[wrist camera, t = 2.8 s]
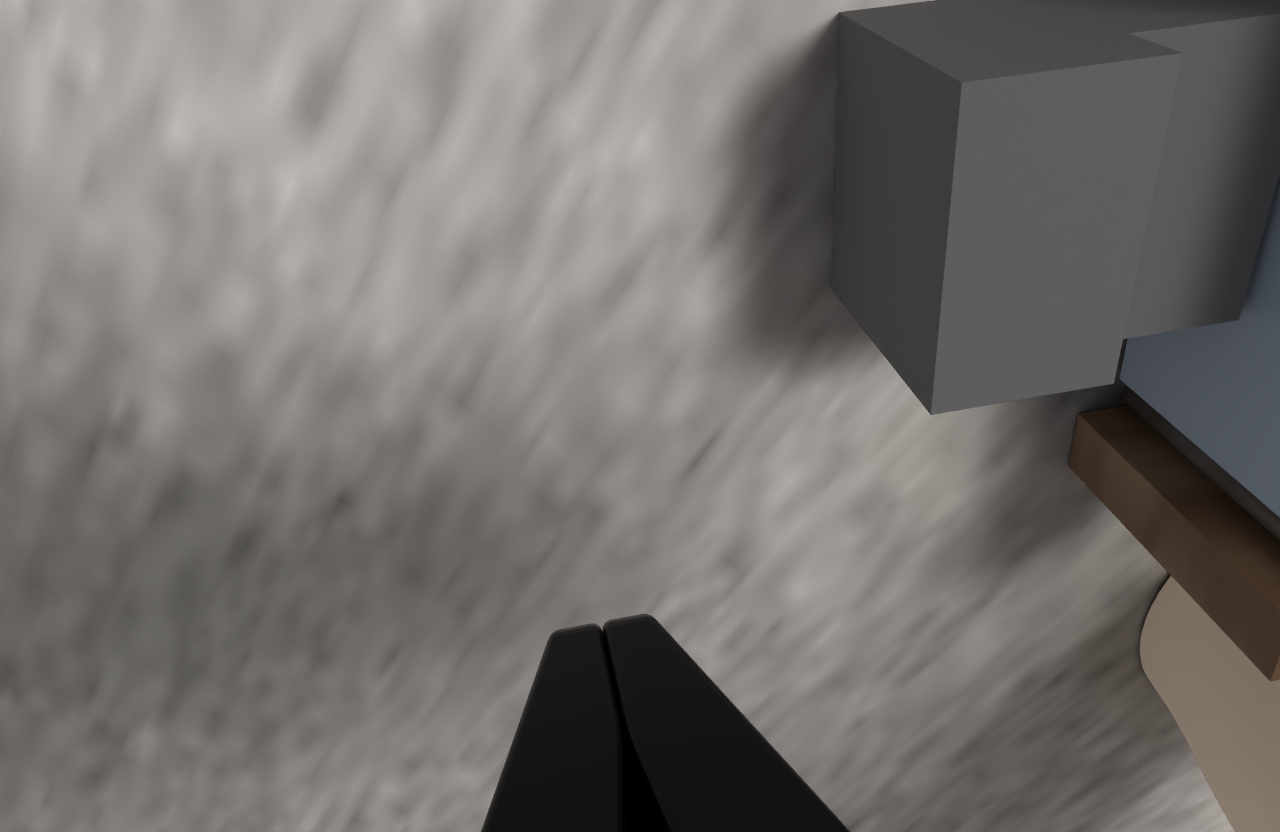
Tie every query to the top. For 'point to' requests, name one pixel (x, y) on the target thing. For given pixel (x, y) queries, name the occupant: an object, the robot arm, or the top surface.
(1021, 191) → the dark grey stepped block
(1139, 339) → the door
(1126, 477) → the frame
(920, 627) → the top surface
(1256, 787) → the water bottle
